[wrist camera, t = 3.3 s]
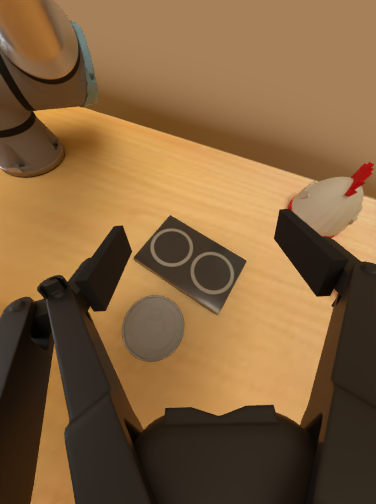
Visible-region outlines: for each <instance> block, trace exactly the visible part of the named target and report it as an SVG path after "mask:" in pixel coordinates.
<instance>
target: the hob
mask: <svg viewBox="0 0 376 504" xmlns="http://www.w3.org/2000/svg"><path fill="white" fill-rule="evenodd" d="M134 260H135V261H136V262H138V263H139V264H141V265H142V266H144V267H145V268H147V269H148V270H150V271H151V272H153V273H154V274H156V275H157V276H159V277H160V278H162V279H163V280H165V281H166V282H168V283H169V284H171V285H172V286H174V287H175V288H177V289H178V290H180V291H181V292H183V293H184V294H186V295H187V296H189V297H190V298H192V299H193V300H195V301H196V302H198V303H199V304H201V305H202V306H204V307H205V308H207V309H208V310H210V311H211V312H213V313H214V314H216V315H217V314H219V312H220V311H221V309H222V307H223V305H224V303H225V301H226V299H227V297H228V295H229V294H230V292H231V290H232V288H233V286H234V284H235V282H236V280H237V278H238V277H239V275H240V273H241V271H242V269H243V267H244V265H245V263H246V260H244V259H243V258H241V257H239V256H238V255H236V254H234V253H233V252H231V251H229V250H228V249H226V248H224V247H223V246H221V245H219V244H218V243H216V242H214V241H213V240H211V239H209V238H207V237H206V236H204V235H202V234H201V233H199V232H197V231H196V230H194V229H192V228H191V227H189V226H187V225H186V224H184V223H182V222H181V221H179V220H177V219H176V218H174V217H172V216H171V215H170V216H169V217H168V218H167V220H166V221H165V222H164V223H163V224H162V225H161V227H160V228H159V229H158V230H157V231H156V232H155V233H154V235H153V236H152V237H151V238H150V239H149V240H148V242H147V243H146V244H145V245H144V246H143V247H142V249H141V250H140V251H139V252H138V253H137V254H136V256H135V257H134Z"/></svg>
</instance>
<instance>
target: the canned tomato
mask: <svg viewBox="0 0 376 504" xmlns="http://www.w3.org/2000/svg"><path fill="white" fill-rule="evenodd" d="M183 333H184V319H183V315H182V313H181V311H180V309H179V308H178V306H177V305H176V304H175V303H174V302H173V301H172V300H170V299H169V298H166V297H164V296H159V295H152V296H147V297H144V298H142V299H140V300H139V301H137V302H136V303H135V304H133V305H132V306H131V308H130V309H129V310H128V312H127V314H126V316H125V318H124V321H123V325H122V337H123V341H124V344H125V346H126V348H127V350H128V351H129V352H130V353H131V354H132V355H133V356H134V357H136V358H138V359H140V360H142V361H147V362H155V361H159V360H162V359H164V358H166V357H168V356H169V355H171V354H172V353H173V352H174V351H175V350H176V348H177V347H178V346H179V344H180V342H181V340H182V337H183Z"/></svg>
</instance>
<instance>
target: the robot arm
mask: <svg viewBox="0 0 376 504" xmlns="http://www.w3.org/2000/svg"><path fill="white" fill-rule="evenodd" d="M97 100H98V89H97V83H96V78H95V76H94V68H93V64H92V60H91V56H90V52H89V49H88V46H87V42H86V39H85V36H84V34H83V31H82V29H81V27H80V26H79V25H78V24H77V23H75V22H72V21H70V20H69V19H68V17H67V15H66V14H65V13H64V11H63V10H62V9H61V8H60V7H59V5H57V3H56V2H55V1H54V0H0V168H1V169H2V170H3V171H4V172H6V173H8V174H10V175H13V176H18V177H32V176H38V175H41V174H44V173H47V172H49V171H51V170H52V169H54V168H55V167H57V166H58V165H59V164H60V163H61V161H62V160H63V158H64V148H63V146H62V144H61V143H60V141H59V139H58V138H57V137H56V136H55V135H54V134H53V133H52V132H51V131H50V130H49V129H48V128H47V127H46V126H45V125H44V124H43V123H42V122H41V121H40V120H39V119H38V118H37V117H36V115H35V114H34V112H33V111H37V110H46V109H57V108H67V107H78V106H79V107H85V106H86V105H92V104H95V103H96V102H97ZM274 239H275V241H276V242H277V243H278V245H279V246H280V248H281V249H282V250H283V252H284V253H285V254H286V256H287V257H288V258H289V260H290V261H291V262H292V264H293V265H294V266H295V268H296V269H297V271H298V272H299V273H300V275H301V276H302V277H303V279H304V280H305V281H306V283H307V284H308V285H309V287H310V288H311V290H312V291H313V292H314V294H315V295H316V296H317V297H319V296H330V295H331V293H332V291H333V289H335V290H336V291H337V292H338V295H337V297H336V299H335V301H334V303H333V304H332V307H334V308H333V312H332V316H331V319H330V323H329V327H328V331H327V335H326V338H325V342H324V346H323V350H322V354H321V358H320V361H319V365H318V369H317V373H316V377H315V380H314V384H313V388H312V392H311V396H310V400H309V403H308V406H307V409H306V411H305V413H304V415H303V418H302V421H301V424H300V425H299V424H297V423H296V422H294V421H293V420H291V419H289V418H288V417H286V416H284V415H281V414H279V413H276V412H275V409H274V405H256V406H244V407H242V408H239V409H237V410H234V411H232V412H229V413H227V414H224V415H221V416H217V415H214V414H210V413H207V412H204V411H201V410H198V409H195V408H192V407H186V408H165V415H164V416H162V417H160V418H158V419H156V420H155V421H153V422H152V423H151V424H149V425H148V426H147V427H146V428H145V429H144V430H143V428H142V426H141V424H140V422H139V420H138V419H137V417H136V415H135V414H134V412H133V410H132V408H131V406H130V403H129V401H128V399H127V397H126V394H125V392H124V390H123V388H122V385H121V383H120V381H119V379H118V376H117V374H116V372H115V370H114V368H113V365H112V363H111V361H110V359H109V356H108V354H107V352H106V350H105V347H104V345H103V343H102V341H101V338H100V336H99V334H98V332H97V329H96V327H95V325H94V323H93V320H92V318H91V316H90V314H89V312H88V309H89V308H90V306H91V308H92V309H93V311H94V312H96V311H106V309H107V307H108V304H109V302H110V300H111V298H112V295H113V293H114V291H115V289H116V286H117V284H118V282H119V280H120V277H121V275H122V273H123V271H124V268H125V266H126V264H127V262H128V259H129V257H130V255H131V253H132V250H131V247H130V245H129V242H128V239H127V236H126V233H125V231H124V228H123V226H114V227H113V229H112V230H111V231H110V233H109V234H108V235H107V237H106V238H105V240H104V241H103V242H102V244H101V245H100V246H99V248H98V249H97V251H96V252H95V253H94V255H93V256H92V257H91V258H88V259H86V260H85V261H84V262H83V263H82V264H81V265H80V266H79V268H78V269H77V270H76V273H74V274H73V276H72V277H71V278H70V279H69V281H68V282H67V281H66V280H65V278H64V277H63V276H61V275H57V276H53V277H50V278H48V279H46V280H44V281H43V282H42V283H40V285H39V286H38V288H37V291H38V292H39V293H40V294H41V295H42V296H43V297H44V299H42V300H39V301H35V302H34V301H33V300H32V299H31V298H30V297H23V298H20V299H18V300H15V301H14V302H12V303H11V304H10V305H8V306H7V307H6V308H5V310H4V311H3V313H2V316H1V318H0V504H30V502H31V496H32V491H33V486H34V479H35V472H36V465H37V458H38V451H39V444H40V437H41V430H42V423H43V417H44V410H45V403H46V396H47V389H48V382H49V375H50V368H51V361H52V354H53V347H54V344H55V349H56V354H57V359H58V364H59V369H60V374H61V379H62V384H63V389H64V394H65V399H66V404H67V409H68V414H69V424H68V426H67V427H66V428H65V433H64V435H65V444H66V450H67V456H68V462H69V468H70V474H71V480H72V486H73V492H74V498H75V504H376V264H373V263H370V262H361V261H360V260H358V259H357V258H356V257H355V256H353V255H352V254H351V253H350V252H348V251H347V250H346V249H345V248H343V247H342V246H340V244H338V243H337V242H336V241H335V240H333V239H331V238H329V237H326V236H324V237H322V236H321V235H320V234H319V233H317V232H316V231H315V230H314V229H313V228H312V227H310V226H309V225H308V224H307V223H306V222H304V221H303V220H302V219H301V218H300V217H299V216H297V215H296V214H295V213H294V212H293V211H291V210H290V209H282V210H280V211H279V216H278V221H277V226H276V231H275V236H274Z"/></svg>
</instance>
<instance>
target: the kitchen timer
mask: <svg viewBox="0 0 376 504" xmlns="http://www.w3.org/2000/svg"><path fill="white" fill-rule="evenodd" d="M373 165H374V164H372V163H370V162H369V163H368V164H364V165H363V166H361V167H360V169H359V170H358V171H357V172H356V173H355V174H354V175H353V176H352V177H351V178H349V177H335V178H329V179H325V180H322V181H320V182H317V183H316V182H315V181H313V182H312V183H311V184H309V185H308V186H307V187H305V188H304V189H303V190H302V191H301V192H300V193H298V194H297V195H296V196H295V197H294V198H293V200H292V201H291V202H290V203H289V206H288V209H290V210H291V211H293V212H294V213H295V214H296V215H297V216H299V217H300V218H301V219H302V220H303V221H304V222H306V223H307V224H308V225H309V226H310V227H312V228H313V229H314V230H315V231H316V232H317V233H319V234H320V235H321V236H322V237H324V236H326V237H329V238H332V237H334V236H335V235H337V234H338V233H340V232H341V231H343V230H344V229H345V228H346V227H347V226H348V225H350V224H352V223H353V222H354V221H355V220H357V216H358V214H359V212H360V211H361V209H362V201H363V189H362V185H363V184H364V182H363V181H364V180H365V179H366V178H368V177H369V176H370V175H371V174H372V173H371V171H372V170H373V168H371V167H372V166H373Z"/></svg>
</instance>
